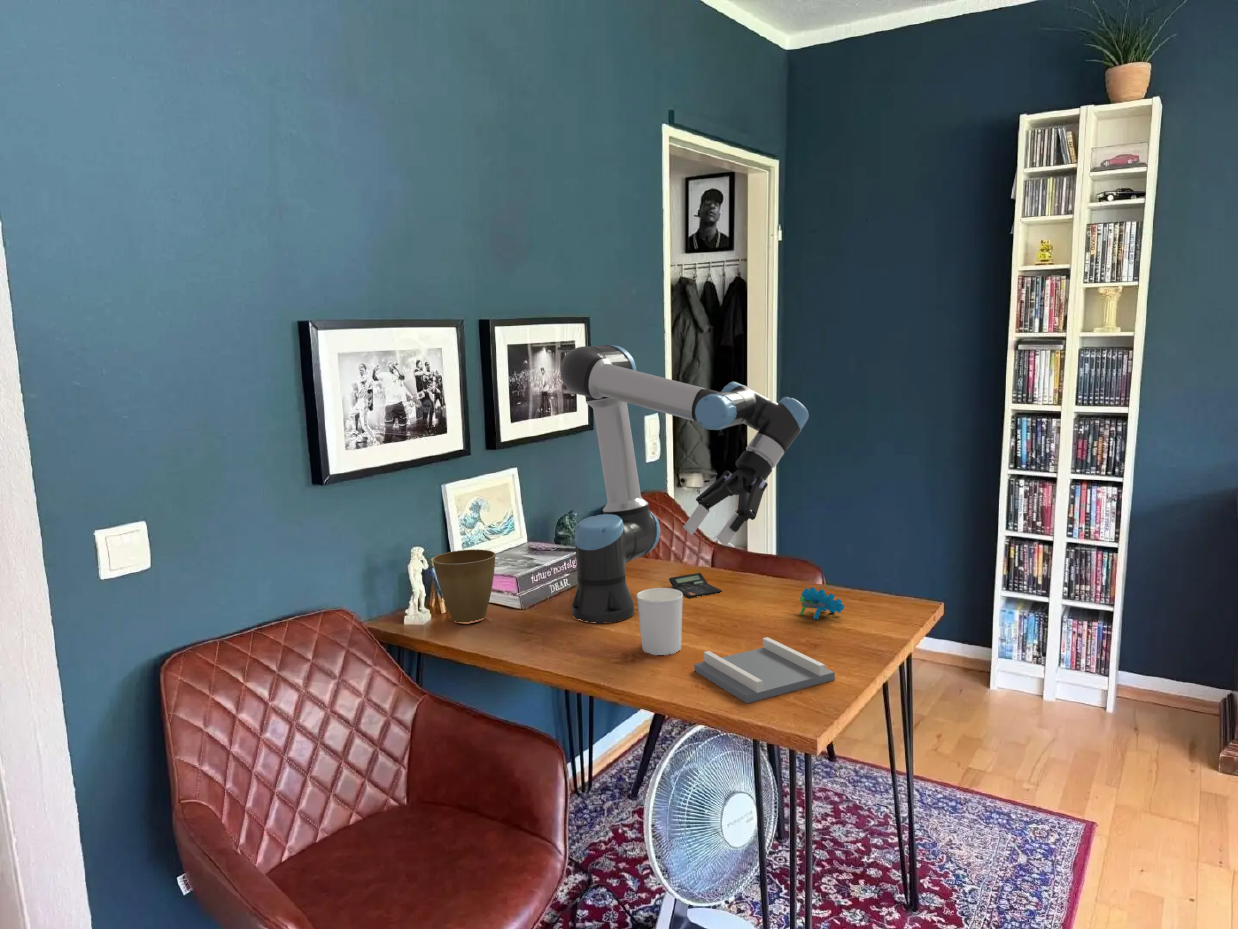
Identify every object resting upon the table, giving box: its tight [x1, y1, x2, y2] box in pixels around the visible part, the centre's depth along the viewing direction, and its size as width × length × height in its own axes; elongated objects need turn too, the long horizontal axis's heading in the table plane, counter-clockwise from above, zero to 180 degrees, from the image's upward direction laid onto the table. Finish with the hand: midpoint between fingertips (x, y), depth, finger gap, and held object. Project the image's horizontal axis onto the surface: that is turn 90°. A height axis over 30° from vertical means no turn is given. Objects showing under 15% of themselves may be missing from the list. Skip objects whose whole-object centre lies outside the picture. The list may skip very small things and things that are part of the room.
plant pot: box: [432, 548, 496, 622], centre depth 207 cm, size 15×15×16 cm
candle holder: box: [635, 587, 684, 656], centre depth 182 cm, size 10×10×12 cm
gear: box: [799, 587, 845, 621], centre depth 198 cm, size 11×6×10 cm
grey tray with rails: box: [693, 636, 836, 704], centre depth 166 cm, size 20×18×4 cm
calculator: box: [668, 572, 723, 599], centre depth 225 cm, size 9×12×3 cm
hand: (703, 536), depth 184 cm, fingers open, 13 cm apart
